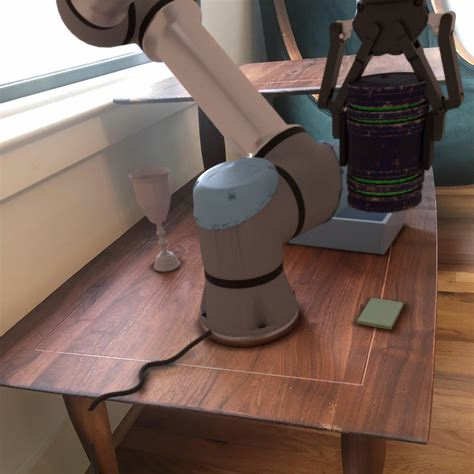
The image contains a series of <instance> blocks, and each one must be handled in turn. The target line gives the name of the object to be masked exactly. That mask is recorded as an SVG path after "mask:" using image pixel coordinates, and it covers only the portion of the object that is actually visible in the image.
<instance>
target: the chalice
mask: <svg viewBox="0 0 474 474" xmlns="http://www.w3.org/2000/svg"><path fill="white" fill-rule="evenodd" d="M169 173H170V169H169V168H168V167H166V166H158V165H157V166H146V167H141V168H137V169H136V170H132V171H131V172H129V174H128V177H129V178H130V180H131V181H132V184H133V189H134V195H135V198H136V203H137V204H138V206H139V208H140V210H141V211H142V213H143V214H144V215H145V216H146V218H147V219H148V221H149V222H150V223H151V224H155V225H156V233H155V234H156V235H157V236H158V241H157V244H159V246H160V248H161V250H160V251H159V253H158V254H156V256H155V260H154V266H153V268H154V270H155V271H157V272H170V271H173V270H176V269H177V268H179V267H180V266H181V261H180V260H179V259H178V257H177V256H176V254H175V253H174V252H173V251H171V250H168V248H167V243H168V240H167V239H166V237H165V233H166V231H165V230H164V228H163V223H164V222H166V221H167V218H168V215H169V211H170V207H171V202H172V201H171V200H172V194H171V187H170V182H169Z"/></svg>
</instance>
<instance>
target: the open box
mask: <svg viewBox="0 0 474 474" xmlns="http://www.w3.org/2000/svg"><path fill="white" fill-rule="evenodd" d="M404 223H405V211H402V212H396V213H369V212H363V211H359V210H356V209H354V208H352V207H350V206H349V205H347V207H346V208H345V209H344V210H343V211H342V212H341V213H339V214H338V215H336V216H335V217H333V218H332V219H331V220H330V221H329V222H326V223H325V224H321V225H319V226H317V227H315V228H313V229H311V230H309V231H307V232H305V233H303V234H301V235H299V236H297V237H295V238H293V239H291V240H289V241H288V243H289V244H293V245H300V246H308V247H317V248H324V249H325V248H326V249H334V250H341V251H343V250H344V251H349V252H350V251H351V252H358V253H359V252H360V253H367V254H375V255H376V254H377V255H382V256H383V255H385V254H386V252H387V251H388V249H389V248H390V246H391V245H392V243H393V242H394V240H395V239H396V238H397V236H398V234H399V233H400V231H401V229H402V228H403V227H404Z"/></svg>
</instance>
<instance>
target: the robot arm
mask: <svg viewBox="0 0 474 474" xmlns="http://www.w3.org/2000/svg"><path fill="white" fill-rule="evenodd" d="M55 4H56V8H57V12H58V14H59V16H60V17H59V18H60V19H61V21H62V22H63V25H64V26H65V28H67V30H68V31H69V32H70V33H71V35H72V36H74V37H76V38H77V40H80V41H81V42H82V43H84V44H86V45H89V46H92V47H97V48H100V49H101V48H102V49H104V48H105V49H106V48H107V49H108V48H109V49H112V48H116V47H121V46H128V45H133V44H134V45H136V46H138V48H139V49H140V50H141V51H142V52H143V54H144V55H145V56H146V57H147V58H148V59H149V60H150V61H152V62H154V63H159V64H160V63H162V64H164V65H165V66H166V67H167V69H168V70H169V71H170V72H171V74H172V75H173V76H174V77H175V78H176V80H177V82H179V84H181V86H182V87H183V88H184V90H185V91H186V92H187V94H189V96H190V98H192V99H193V100H194V102H195V103H196V104H197V106H198V107H199V108H200V109H201V110H202V112H203V113H204V114H205V115H206V116H207V118H208V120H210V122H212V124H213V125H214V127H215V128H216V129H217V130H218V131H219V133H221V134H220V135H222V137H224V139H225V140H226V141H227V142H228V144H229V145H230V146H231V147H232V148H233V150H234V151H235V152H236V153H237V155H238V156H239V158H237V159H236V160H234V161H233V160H227V161H225V162H222V163H219V164H216V165H215V166H213V167H211V168H209V169H208V170H206V171H204V173H202V174H201V175H199V177H198V178H197V180H196V181H195V183H194V185H193V189H192V190H193V191H192V199H193V218H194V221H195V223H196V228H197V235H198V242H199V248H200V255H201V260H202V268H203V272H204V279H205V280H204V285H203V290H202V294H201V300H200V306H199V311H198V312H199V313H198V317H199V324H200V329H201V331H202V333H203V334H201V335H200V336H198V337H197V338H195V339H194V340H193V341H191V342H190V343H188V344H187V345H186V346H184V347H183V348H182V349H181V350H180V351H179V352H178V353H176V354H175V355H173V356H171V357H169V358H167V359H162V360H153V361H149V362H147V363H144V364H143V365H142V366H141V367H140V369H139V372H138V379H139V381H138V384H136V385H135V386H133V387H131V388H129V389H124V390H117V391H110V392H107V393H103V394H101V395H99V396H97V397H95V399H93V401H92V402H91V404H90V405H89V407H88V409H87V412H92V411H94V410H95V409H96V407H97V406H98V405H99V404H100V403H102V402H103V401H105V400H108V399H112V398H113V399H114V398H119V397H120V398H121V397H126V396H130V395H133V394H136V393H137V392H139V391H140V390H142V389H143V387H144V385H145V383H146V377H145V374H146V371H147V370H148V369H150V368H153V367H160V366H161V367H163V366H167V365H170V364H172V363H175V362H176V361H178V360H180V359H181V358H182V357H183V356H185V354H187V353H188V352H189V351H190V350H192V349H193V348H194V347H196V346H198V345H199V344H200V343H201V342H202V341H204V340H205V339H207V338H208V339H210V340H211V341H213V342H216V343H218V344H221V345H225V346H230V347H231V346H232V347H255V346H261V345H265V344H269V343H271V342H274V341H277V340H279V339H281V338H283V337H284V336H287V335H288V334H289V333H290V332H292V331H293V329H295V327H296V326H297V324H298V323H299V318H300V312H299V311H300V310H299V302H298V300H297V297H296V291H294V290H293V288H292V286H291V284H290V281H289V279H288V277H287V275H286V272H285V270H284V254H283V245H285V244H286V243H287V242H289V240H291V239H293V238H295V237H297V236H299V235H301V234H303V233H305V232H307V231H309V230H311V229H313V228H315V227H317V226H319V225H321V224H325V223H326V222H329V221H330V220H331V219H332V218H333V217H335V216H336V215H338V214H339V213H341V212H342V211H343V210H344V209H345V208H346V207H347V205H348V203H347V196H348V191H347V186H348V185H347V183H346V174H347V161H348V159H349V131H348V130H347V125H346V123H347V117H348V116H347V115H346V105H347V104H348V103H347V95H348V91H347V82H348V84H354V83H355V82H357V81H359V80H360V78H361V76H363V75H364V72H365V70H366V69H367V67H368V65H369V63H370V61H371V60H372V59H373V57H382V56H385V55H390V56H402V55H404V57H405V59H406V61H407V62H408V63H409V65H410V66H411V68H412V72H414V73H415V75H416V77H417V79H418V81H419V82H423V81H426V88H425V89H424V93H425V95H426V97H427V99H428V101H429V104H430V108H431V109H429V111H428V114H427V115H426V122H425V136H424V151H423V165H422V170H424V171H427V172H428V171H429V170H430V169H431V167H432V166H433V165H434V157H435V143H436V142H441V141H442V139H443V138H444V136H445V132H446V122H447V114H448V113H447V112H448V111H451V110H453V109H458V108H460V107H461V105H462V104H463V103H464V101H465V92H464V86H463V79H462V75H461V70H460V64H459V59H458V53H457V47H456V41H455V36H454V33H455V32H454V31H455V26H456V25H455V24H456V20H457V19H456V18H457V14H456V12H455V11H454V10H449V11H447V12H431V11H430V10H429V8H428V3H427V0H356V3H355V4H356V10H355V13H354V16H353V18H352V19H348V20H343V19H338V20H336V21H335V20H334V21H333V22H330V24H329V26H328V35H329V48H328V53H327V57H326V61H325V66H324V69H323V70H324V71H323V75H322V78H321V84H320V86H319V87H320V88H319V92H318V97H317V101H316V106H317V108H318V109H320V110H323V109H324V110H326V111H328V112H329V113H330V114H331V127H332V128H331V135H332V138H333V140H338V144H337V143H335V142H333V141H328V140H327V141H326V140H318V141H315V140H314V138H312V137H311V135H310V133H308V132H307V131H306V130H305V128H304V127H303V126H302V125H301V124H297V123H295V124H287V122H285V120H284V119H283V118H282V117H281V116H280V115H279V113H278V112H277V111H276V110H275V109H274V107H273V106H272V104H270V103H269V101H268V100H267V99H266V98H265V97H264V96H263V95H262V93H261V91H259V89H257V88H256V86H255V85H254V84H253V83H252V82H251V80H250V79H249V78H248V77H247V76H246V74H245V73H244V72H243V71H242V70H241V69H240V67H239V66H238V65H237V63H235V61H234V60H233V59H232V58H231V56H230V55H228V53H227V52H226V51H225V49H223V47H222V46H221V45H220V44H219V43H218V41H217V40H216V39H215V38H214V36H212V34H211V33H210V32H209V31H208V30H207V28H206V27H205V26H204V24H203V12H202V0H55ZM427 26H430V27H431V30H432V33H433V35H435V36H437V44H438V50H439V55H440V61H441V66H442V71H443V75H444V82H445V86H446V92H447V97H446V96H445V94H444V92H443V90H442V87H441V85H440V83H439V81H438V79H437V77H436V75H435V73H434V71H433V69H432V66H431V65H430V62H429V60H428V58H427V57H426V54H425V50H424V47H423V45H422V43H421V41H420V39H419V38H420V36H421V35H422V33H423V31H424V30H425V29H426V28H427ZM352 32H354V33H355V35H356V36H357V37H358V39H359V41H360V42H361V44H360V46H359V48H358V51H357V52H356V54H355V56H354V61H353V62H352V64H351V67H350V69H349V70H348V72H347V75H346V76H345V78H344V80H343V82H342V84H341V86H340V88H339V90H338V92H337V94H336V96H335V91H336V87H337V84H338V80H339V75H340V72H341V68H342V67H341V66H342V63H343V59H344V54H345V50H346V46H347V41H348V40H349V39H351V35H352ZM334 96H335V98H334ZM95 445H96V444H95V443H92V442H89V441H88V448H89V456H90V463H91V470H92V474H100V473H99V468H98V460H97V453H96V446H95Z"/></svg>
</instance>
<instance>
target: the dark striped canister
mask: <svg viewBox="0 0 474 474" xmlns="http://www.w3.org/2000/svg"><path fill="white" fill-rule="evenodd" d="M425 88H426V81H423V82H419V81H418V79H417V77H416V75H415V73H414V71H391V72H379V73H373V74H372V73H371V74H366V75H362V76H361V78H360V80H359V81H357V82H355V83H354V84H348V82H347V91H348V95H347V105H346V108H345V111H346V115H347V116H348V117H347V123H346V125H347V130H348V131H349V159H348V161H347V174H346V183H347V185H348V186H347V191H348V196H347V203H348V205H349V206H350V207H352V208H354V209H356V210H359V211H363V212H369V213H396V212H402V211H404V212H405V211H410V210H412V209H414V208H416V207H418V206H420V205H421V203H422V200H423V193H422V190H423V188H424V182H425V174H426V170H422V165H423V151H424V136H425V122H426V115H427V114H428V113H429V112H430V108H431V106H430V104H429V101H428V99H427V97H426V95H425V93H424V89H425Z"/></svg>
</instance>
